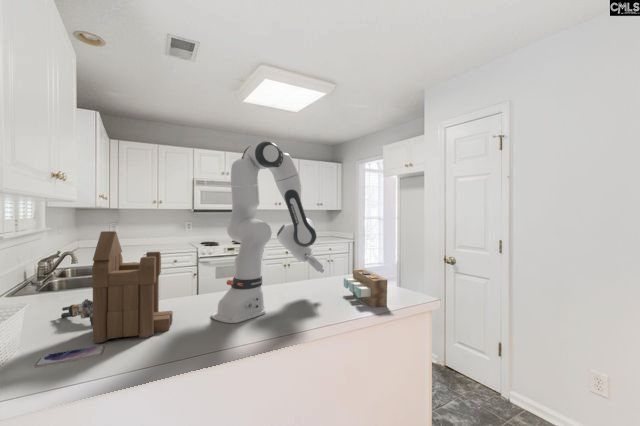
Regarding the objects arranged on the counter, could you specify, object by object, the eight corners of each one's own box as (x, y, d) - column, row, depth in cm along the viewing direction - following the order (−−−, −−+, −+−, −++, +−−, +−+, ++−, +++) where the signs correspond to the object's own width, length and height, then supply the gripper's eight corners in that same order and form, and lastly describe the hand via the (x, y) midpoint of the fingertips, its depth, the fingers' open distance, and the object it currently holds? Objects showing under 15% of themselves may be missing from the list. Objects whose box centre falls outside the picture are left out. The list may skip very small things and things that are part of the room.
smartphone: (41, 355, 88) (105, 344, 95) (41, 358, 88) (105, 347, 95) (33, 366, 81) (101, 354, 89) (33, 369, 81) (101, 356, 89)
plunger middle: (352, 292, 144) (352, 284, 143) (349, 290, 148) (349, 281, 147) (369, 291, 146) (369, 283, 146) (365, 289, 150) (366, 281, 150)
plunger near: (359, 298, 136) (359, 288, 136) (355, 295, 140) (355, 286, 140) (377, 296, 138) (377, 287, 138) (373, 294, 142) (373, 285, 142)
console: (372, 307, 136) (373, 279, 135) (352, 291, 159) (353, 268, 158) (386, 306, 138) (387, 278, 137) (364, 291, 161) (365, 267, 160)
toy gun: (97, 326, 108) (92, 298, 108) (61, 331, 115) (56, 305, 116) (106, 322, 111) (101, 295, 111) (71, 328, 118) (66, 303, 119)
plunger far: (346, 288, 151) (346, 280, 151) (343, 286, 155) (343, 278, 155) (362, 287, 154) (362, 279, 154) (359, 285, 158) (359, 277, 158)
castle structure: (168, 336, 102) (168, 233, 101) (90, 345, 95) (90, 234, 94) (176, 309, 128) (176, 226, 127) (115, 315, 120) (115, 227, 119)
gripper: (312, 251, 137) (333, 271, 140) (303, 244, 157) (321, 262, 160) (303, 261, 136) (323, 281, 139) (294, 253, 156) (313, 271, 159)
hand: (322, 271), depth 150 cm, fingers closed
